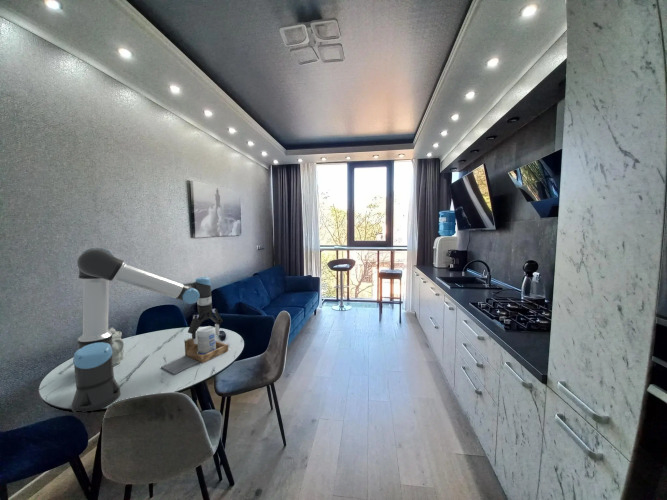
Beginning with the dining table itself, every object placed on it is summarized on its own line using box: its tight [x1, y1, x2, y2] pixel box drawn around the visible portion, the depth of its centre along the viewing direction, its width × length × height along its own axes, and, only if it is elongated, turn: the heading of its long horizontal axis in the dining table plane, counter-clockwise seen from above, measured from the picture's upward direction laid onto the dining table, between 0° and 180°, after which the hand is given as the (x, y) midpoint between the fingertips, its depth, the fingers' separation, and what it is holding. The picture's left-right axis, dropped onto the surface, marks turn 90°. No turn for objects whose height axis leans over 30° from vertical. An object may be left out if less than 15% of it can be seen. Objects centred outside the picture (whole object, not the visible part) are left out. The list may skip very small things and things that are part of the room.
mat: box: [160, 356, 200, 376], centre depth 135 cm, size 13×13×1 cm
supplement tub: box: [196, 325, 217, 355], centre depth 148 cm, size 10×10×15 cm
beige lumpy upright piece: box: [108, 327, 125, 367], centre depth 137 cm, size 16×15×19 cm
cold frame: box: [183, 336, 229, 364], centre depth 148 cm, size 16×17×10 cm
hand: (207, 339), depth 148 cm, fingers open, 13 cm apart
